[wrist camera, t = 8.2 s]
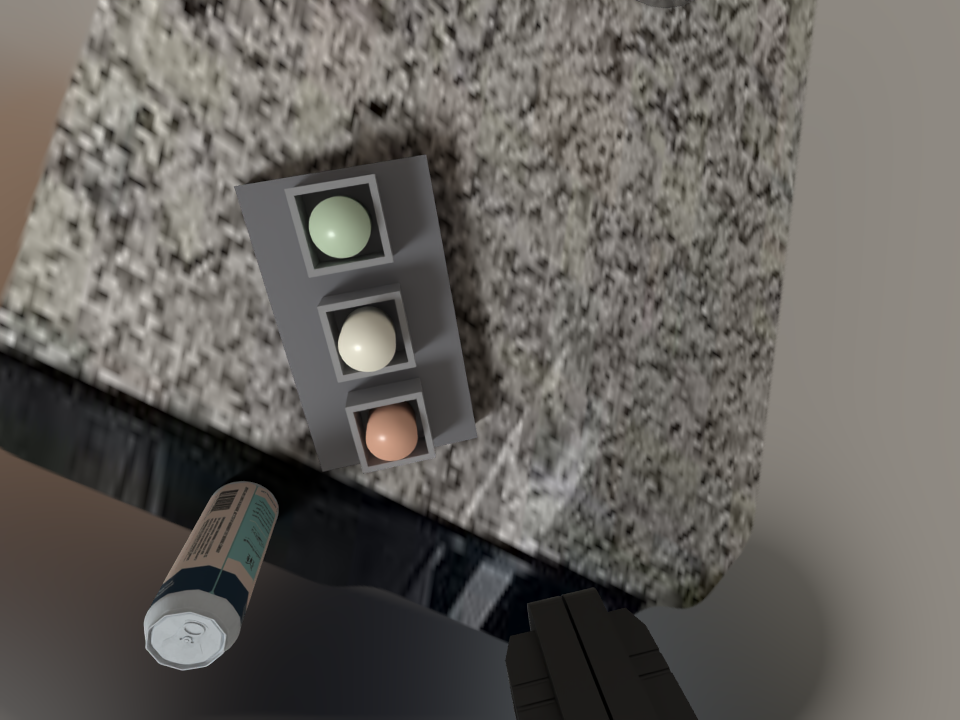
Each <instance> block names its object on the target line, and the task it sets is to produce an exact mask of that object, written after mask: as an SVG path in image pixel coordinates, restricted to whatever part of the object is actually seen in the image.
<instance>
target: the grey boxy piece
mask: <svg viewBox="0 0 960 720" xmlns="http://www.w3.org/2000/svg"><path fill="white" fill-rule="evenodd" d="M234 188H235V191H236V194H237V197H238V201H239V204H240V207H241V210H242V213H243V217H244V220H245V223H246V226H247V230H248V233H249V236H250V239H251V243H252V246H253V249H254V252H255V255H256V259H257V262H258V265H259V268H260V272H261V275H262V278H263V281H264V284H265V288H266V291H267V294H268V297H269V301H270V304H271V307H272V310H273V314H274V317H275V320H276V323H277V326H278V330H279V333H280V336H281V339H282V343H283V346H284V349H285V352H286V355H287V359H288V362H289V365H290V368H291V372H292V375H293V378H294V381H295V384H296V388H297V391H298V394H299V397H300V401H301V404H302V407H303V410H304V414H305V417H306V420H307V423H308V426H309V430H310V433H311V436H312V439H313V443H314V446H315V449H316V452H317V455H318V459H319V462H320V465H321V468H322V472H323V471H328V470H332V469H337V468H342V467H346V466H351V465H355V464H361V467H362V471H363V474H364V473H368V472H373V471H377V470H382V469H386V468H391V467H395V466H400V465H404V464H409V463H413V462H418V461H422V460H427V459H431V458H436V455H435V448H434V447H437V446H441V445H446V444H450V443H455V442H459V441H464V440H469V439H473V438H477V432H476V427H475V421H474V416H473V410H472V404H471V399H470V393H469V388H468V382H467V377H466V371H465V366H464V360H463V355H462V349H461V344H460V338H459V333H458V327H457V322H456V316H455V311H454V305H453V300H452V294H451V289H450V283H449V278H448V272H447V267H446V261H445V256H444V250H443V245H442V239H441V234H440V228H439V223H438V217H437V212H436V206H435V201H434V195H433V190H432V184H431V178H430V173H429V167H428V162H427V156H426V155H420V156H414V157H407V158H401V159H395V160H389V161H383V162H377V163H371V164H365V165H359V166H353V167H347V168H341V169H335V170H329V171H323V172H317V173H311V174H305V175H299V176H293V177H287V178H281V179H275V180H269V181H263V182H257V183H251V184H245V185H239V186H234ZM338 195H346V196H350V197H353V198H355V199H357V200H359V201H360V202H361V203H362V204H363V205H364V206H365V207H366V208H367V210H368V211H369V214H370V216H371V220H372V230H371V234H370V237H369V240H368V242H367V244H366V246H365V247H364V248H363V249H362V250H361V251H360V252H359V253H358V254H356V255H354V256H351V257H348V258H336V257H332V256H329V255H327V254H325V253H324V252H322V251H321V250H320V249H319V248H318V247H317V246H316V245H315V243H314V242H313V240H312V238H311V235H310V231H309V220H310V216H311V213H312V211H313V210H314V208H315V207H316V206H317V205H318V204H319V203H320V202H322V201H324V200H326V199H328V198H331V197H334V196H338ZM366 306H370V307H376V308H379V309H381V310H383V311H384V312H386V313H387V314H388V315H389V316H390V317H391V319H392V320H393V323H394V325H395V335H396V349H395V354H394V356H393V358H392V360H391V361H390V362H389V363H388V364H387V365H386V366H385V367H383V368H382V369H380V370H377V371H373V372H362V371H358V370H355V369H353V368H352V367H350V366H349V365H347V364H346V363H345V362H344V360H343V359H342V357H341V355H340V353H339V349H338V340H339V336H340V333H341V330H342V327H343V324H344V321H345V319H346V318H347V316H348V315H349V314H350V313H351V312H353V311H354V310H356V309H358V308H361V307H366ZM404 401H407V402H408V403H409V404H410V405H411V406H412V408H413V409H414V411H415V415H416V425H417V435H418V440H417V444H416V446H415V448H414V450H413V451H412V452H411V453H410V454H409V455H408V456H406V457H405V458H403V459H400V460H396V461H386V460H382V459H380V458H378V457H376V456H374V455H373V454H372V453H371V452H370V450H369V449H368V447H367V444H366V431H367V421H368V414H369V411H370V409H371V408H376V407H380V406H385V405H390V404H394V403H399V402H404Z"/></svg>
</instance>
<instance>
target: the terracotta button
mask: <svg viewBox="0 0 960 720" xmlns="http://www.w3.org/2000/svg"><path fill="white" fill-rule="evenodd" d="M417 440H418V435H417V425H416V415H415V411H414V409H413V408H412V406H411V405H410V404H409V403H408V402H407V401H404V402H399V403H394V404H390V405H385V406H380V407H376V408H371V409H370V411H369V414H368V421H367V431H366V444H367V447H368V449H369V450H370V452H371V453H372V454H373V455H374V456H376V457H378V458H380V459H382V460H386V461H396V460H400V459H403V458H405V457H406V456H408V455H409V454H410V453H411V452H412V451H413V450H414V448H415V446H416V444H417Z"/></svg>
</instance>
